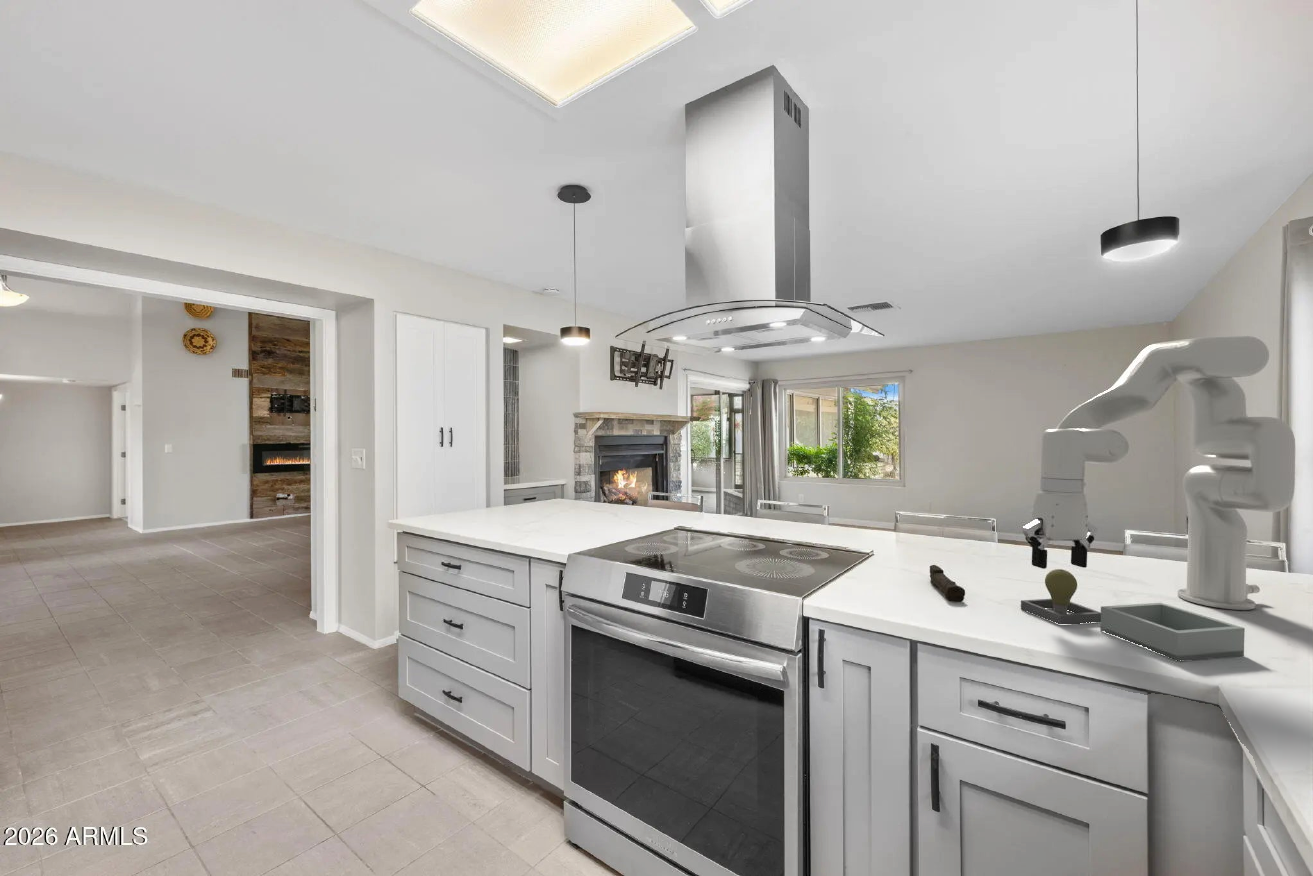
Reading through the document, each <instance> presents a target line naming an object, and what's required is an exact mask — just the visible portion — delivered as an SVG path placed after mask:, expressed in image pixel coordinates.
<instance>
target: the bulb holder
mask: <svg viewBox="0 0 1313 876" xmlns="http://www.w3.org/2000/svg"><path fill="white" fill-rule="evenodd" d="M1053 606H1054V605H1053V602H1052V599H1051V598H1038V599H1024V600H1020V610H1021V609H1022V611H1024V610H1025V611H1024V612H1026V611H1028V612H1027V613H1029V612H1030V613H1029V614H1031V613H1033V614H1035V615H1034V616H1036V615H1038V616H1040V617H1039V618H1041V617H1043V618H1045V619H1044V620H1046V619H1048V620H1051V621H1053V622H1056V623H1058V624H1078V625H1081V624H1080V623H1086V622H1087V623H1089V622H1090V623H1091V622H1101V611H1098V610H1095V609H1092V608H1089V607H1086V606H1084V605H1081V604H1079V603H1076V602H1072V601H1070V603H1069V605H1067V610H1069V611H1072V612H1074V613H1075V614H1074V613H1072V612H1071V613H1067V614H1058V613H1056V612H1053V611H1054V610H1052V609H1045V608H1053ZM1069 611H1068V612H1069ZM1033 614H1032V615H1033ZM1038 616H1037V617H1038ZM1043 618H1042V619H1043ZM1048 620H1047V621H1048ZM1053 622H1052V623H1053ZM1058 624H1057V625H1058Z"/></svg>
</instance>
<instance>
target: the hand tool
mask: <svg viewBox="0 0 1313 876" xmlns="http://www.w3.org/2000/svg"><path fill="white" fill-rule="evenodd" d="M944 572H945V571H944V570H943V569H942V568H941V567H940V566H938V565H937V564H932V565H930V566H929V578H930V582H931V584H932V585H933V586H936V587H937V589H939V590H940V592H942V593H943V594H944V595H945V596H946V597H945V598H946V600H947V601H948V602H953V603H961V602H963V601H964V599H965V595H966V590H965V589H964V587H962V586H960V585H957V583H956V581H953V580H951V579H950V578H949V577H948V576H947V575H946V574H944Z"/></svg>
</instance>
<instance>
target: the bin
mask: <svg viewBox="0 0 1313 876" xmlns="http://www.w3.org/2000/svg"><path fill="white" fill-rule="evenodd" d="M1100 612H1101V623H1100V630H1101V631H1105V632H1106V633H1109V634H1112V635H1115V636H1118V637H1120V638H1123V639H1125V640H1128V641H1130V642H1133V643H1135V644H1138V645H1142V646H1143V647H1147V648H1148V649H1151V650H1152V651H1155V652H1157V653H1160V654H1163V655H1165V656H1167V657H1169V658H1168V659H1170V658H1172V659H1173V661H1175V660H1177V661H1180V660H1181V661H1180V662H1183V661H1182V660H1192V661H1201V660H1200V659H1203V660H1211V658H1213V659H1214V658H1215V659H1223V658H1224V659H1225V658H1235V657H1244V656H1245V627H1242V626H1238V625H1236V624H1232V623H1230V622H1225V621H1223V620H1219V619H1216V618H1212V617H1210V616H1207V615H1202V614H1199V613H1196V612H1193V611H1189V610H1188V609H1186V610H1185V609H1183V608H1180V607H1176V606H1173V605H1170V604H1166V603H1163V602H1149V603H1148V602H1147V603H1135V604H1132V603H1131V604H1121V605H1120V604H1119V605H1106V606H1105V605H1103V606H1100ZM1101 631H1100V632H1101ZM1106 633H1105V634H1106ZM1152 651H1151V652H1152ZM1157 653H1156V654H1157ZM1167 657H1166V658H1167ZM1209 658H1210V659H1209ZM1172 659H1171V660H1172ZM1198 659H1199V660H1198ZM1213 659H1212V660H1213ZM1177 661H1176V662H1177Z"/></svg>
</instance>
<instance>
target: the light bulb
mask: <svg viewBox="0 0 1313 876" xmlns="http://www.w3.org/2000/svg"><path fill="white" fill-rule="evenodd" d="M1044 584H1045V587H1046V589H1047V591H1048V593H1049V595H1050V597H1051V598H1050V599H1052V602H1053V605H1054V606H1053V609H1052V611H1053V612H1056V613H1058V614H1068V611H1067V605H1069V603H1070V602H1071V599H1072V598H1073V596H1074V594H1075V593H1076V591H1077V589H1078V582H1077V579H1076V577H1075V576H1074V574H1072V573H1071V572H1070V571H1068V570H1065V569H1061V568H1058V569H1056V568H1055V569H1053V570H1050V571H1049V572H1048V573H1047V574H1046V575H1045V579H1044Z"/></svg>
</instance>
